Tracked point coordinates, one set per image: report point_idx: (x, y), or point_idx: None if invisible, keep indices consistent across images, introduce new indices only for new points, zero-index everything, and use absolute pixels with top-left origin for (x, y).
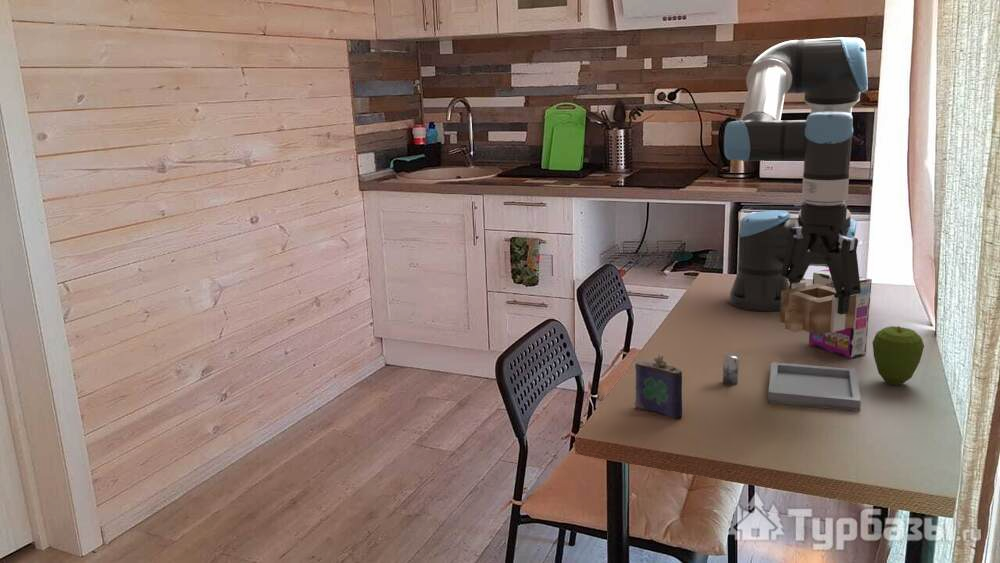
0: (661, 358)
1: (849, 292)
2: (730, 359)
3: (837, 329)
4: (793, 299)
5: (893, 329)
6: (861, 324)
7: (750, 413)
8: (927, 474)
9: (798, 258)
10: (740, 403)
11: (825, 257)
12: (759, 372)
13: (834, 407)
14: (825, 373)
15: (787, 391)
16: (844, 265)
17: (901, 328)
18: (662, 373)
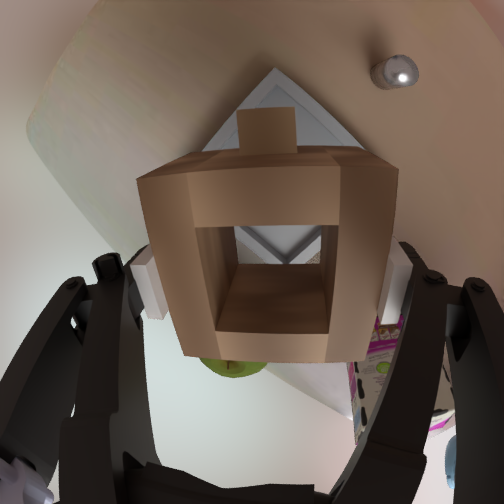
0: None
1: (65, 285)
2: (391, 58)
3: None
4: (304, 161)
5: (239, 361)
6: (350, 370)
7: (250, 20)
8: (46, 140)
9: (429, 392)
10: (294, 29)
11: (85, 424)
12: (395, 157)
13: None
14: (313, 236)
15: (260, 99)
16: (19, 370)
17: (236, 371)
18: None
